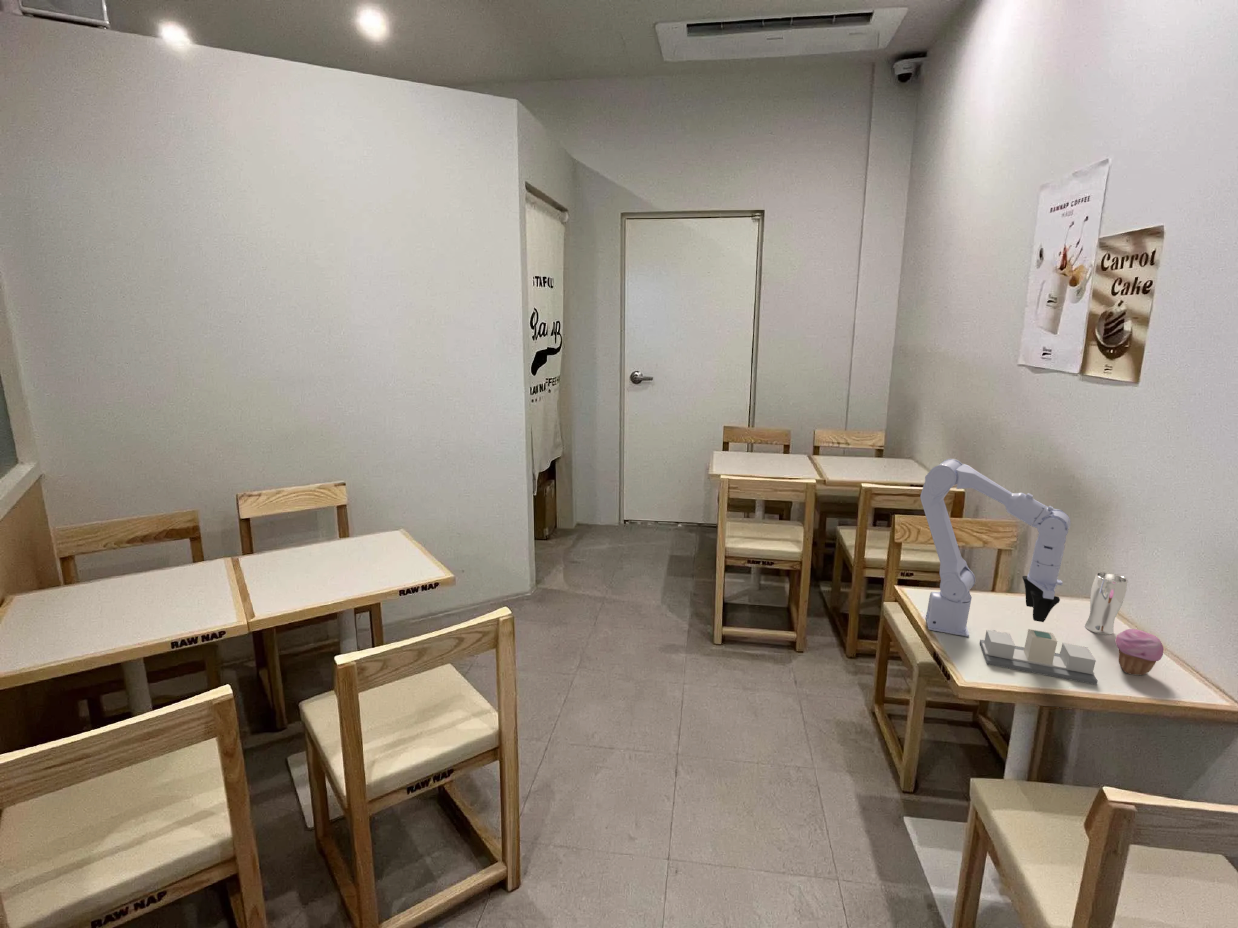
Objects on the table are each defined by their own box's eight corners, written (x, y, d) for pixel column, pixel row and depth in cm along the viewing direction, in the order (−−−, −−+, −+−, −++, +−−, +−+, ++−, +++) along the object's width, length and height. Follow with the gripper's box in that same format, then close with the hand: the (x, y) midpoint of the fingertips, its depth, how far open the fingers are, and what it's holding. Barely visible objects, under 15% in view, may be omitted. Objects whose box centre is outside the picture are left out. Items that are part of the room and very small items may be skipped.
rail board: (986, 663, 152) (990, 645, 151) (979, 643, 161) (982, 625, 160) (1096, 684, 145) (1101, 665, 144) (1082, 661, 154) (1087, 643, 153)
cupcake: (1104, 656, 157) (1114, 619, 154) (1148, 665, 154) (1158, 627, 151) (1116, 676, 149) (1126, 637, 146) (1162, 685, 146) (1174, 645, 143)
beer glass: (1086, 632, 168) (1099, 579, 164) (1079, 620, 174) (1091, 569, 170) (1119, 638, 165) (1132, 585, 161) (1110, 626, 172) (1123, 574, 168)
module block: (1027, 659, 152) (1032, 636, 150) (1023, 651, 156) (1028, 628, 154) (1052, 664, 150) (1057, 640, 149) (1047, 655, 154) (1052, 632, 152)
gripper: (1075, 576, 144) (1062, 631, 148) (1058, 552, 157) (1046, 603, 161) (1038, 570, 146) (1026, 624, 150) (1024, 548, 159) (1014, 598, 163)
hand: (1034, 613), depth 155 cm, fingers open, 7 cm apart
